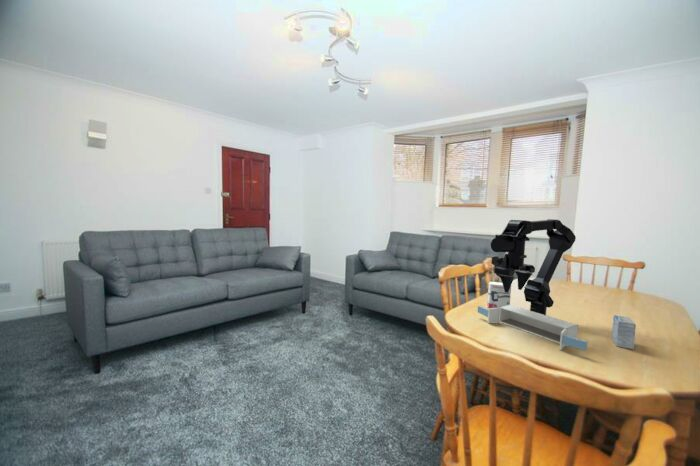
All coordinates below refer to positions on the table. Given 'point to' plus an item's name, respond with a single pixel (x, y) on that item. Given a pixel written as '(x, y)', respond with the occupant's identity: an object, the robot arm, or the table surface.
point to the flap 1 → (490, 314)
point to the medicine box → (623, 332)
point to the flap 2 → (571, 341)
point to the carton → (536, 323)
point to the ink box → (498, 295)
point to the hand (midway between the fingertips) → (513, 290)
